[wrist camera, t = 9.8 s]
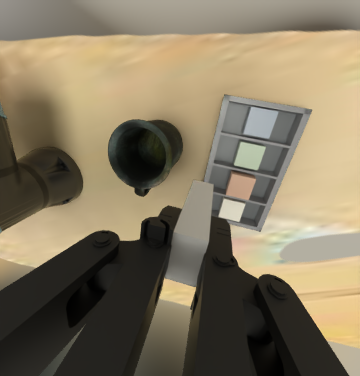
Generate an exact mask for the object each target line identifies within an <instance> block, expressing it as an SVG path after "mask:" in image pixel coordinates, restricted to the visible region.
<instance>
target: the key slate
mask: <svg viewBox="0 0 360 376" xmlns="http://www.w3.org/2000/svg"><path fill="white" fill-rule="evenodd" d="M277 115H278V111H272V110H267V109H261V108H255V107H249V110H248V113H247V117H246V120H245V124H244V127H243V130H242V133H243V134H246V135H252V136H257V137H262V138H267V139H269V137H270V135H271V132H272V129H273V126H274V124H275V121H276V118H277Z"/></svg>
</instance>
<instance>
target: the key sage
mask: <svg viewBox="0 0 360 376" xmlns="http://www.w3.org/2000/svg"><path fill="white" fill-rule="evenodd" d="M265 149H266V146H264V145H262V144H257V143H252V142H247V141H242V140H240V141H239V144H238V147H237V151H236V154H235V157H234V161H233V164H234V165H235V166H240V167H244V168H249V169H253V170H258V168H259V165H260V163H261V160H262V157H263V154H264V151H265Z"/></svg>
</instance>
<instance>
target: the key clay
mask: <svg viewBox="0 0 360 376" xmlns="http://www.w3.org/2000/svg"><path fill="white" fill-rule="evenodd" d="M255 181H256V178H255V176H254V175H251V174H246V173H242V172H237V171H232V170H231V174H230V177H229V180H228V184H227V187H226V195H228V196H233V197H237V198H241V199H245V200H249V198H250V195H251V192H252V190H253V187H254V184H255Z"/></svg>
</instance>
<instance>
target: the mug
mask: <svg viewBox="0 0 360 376" xmlns="http://www.w3.org/2000/svg"><path fill="white" fill-rule="evenodd" d="M182 148H183V144H182V139H181V136H180V133H179V132H178V130H177V129H176V128H175V127H174V126H173V125H172V124H171V123H169V122H166V121H163V120H153V121H144V120H139V119H138V120H129V121H126V122H124V123H122V124H121V125H119V126H118V127H117V128H116V129H115V130H114V132H113V133H112V135H111V137H110V140H109V145H108V156H109V161H110V164H111V166H112V169H113V170H114V172H115V174H116V175H117V176H118V177H119V178H120V179H121V180H122V181H123V182H124V183H126V184H127V185H129V186H131V187H134V188H135V193H136V195H139V196H142V197H144V196H145V195H147V193H148V192H149V190H150V189H151V188H153V187H155V186H157V185H159V184H160V183H162V182H163V181H164V180H165V179H166V177H167V176H168V174H169V172H170V169H171V168H172V167H173V166H174V164H175V163H176V162H177V161H178V160H179V158H180V156H181V153H182Z"/></svg>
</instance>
